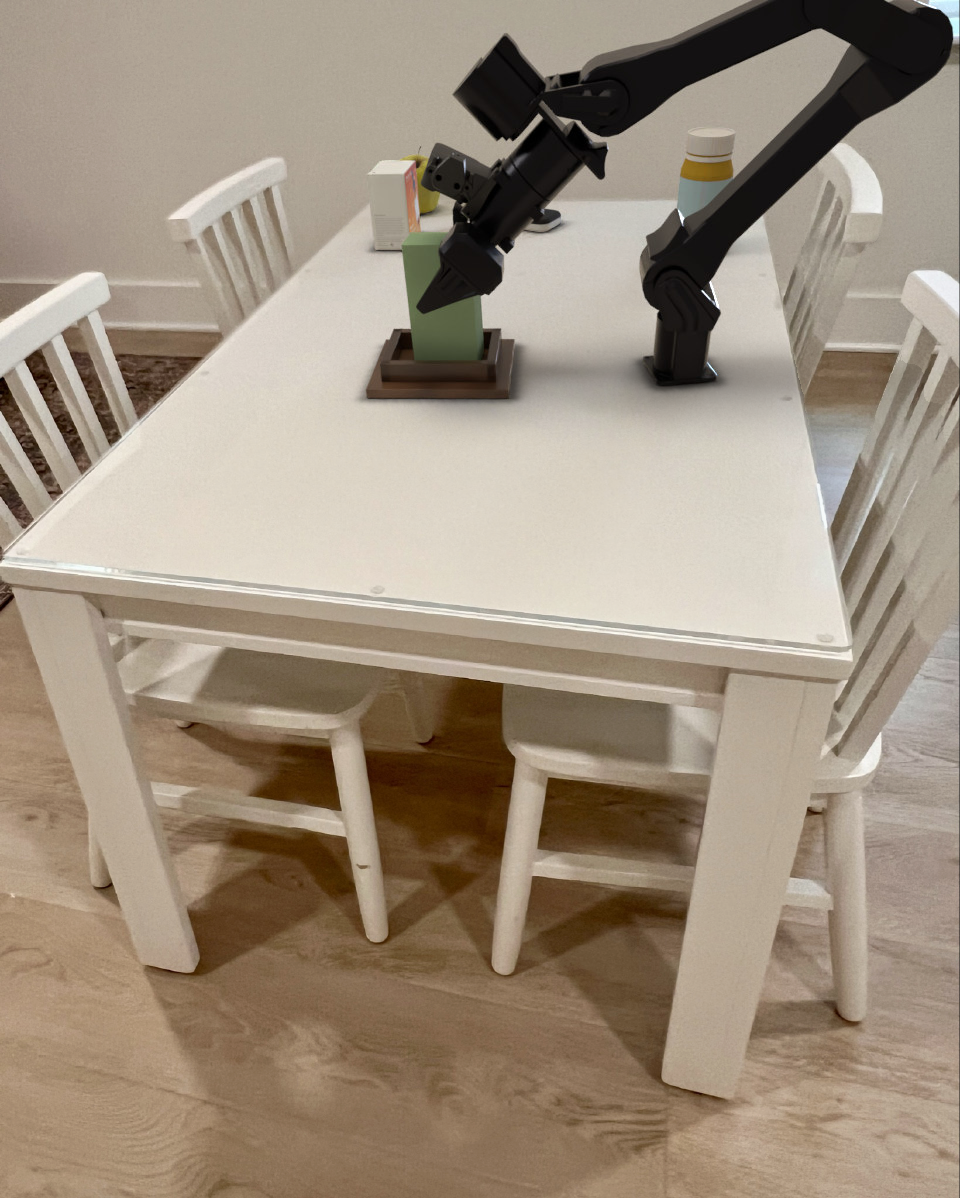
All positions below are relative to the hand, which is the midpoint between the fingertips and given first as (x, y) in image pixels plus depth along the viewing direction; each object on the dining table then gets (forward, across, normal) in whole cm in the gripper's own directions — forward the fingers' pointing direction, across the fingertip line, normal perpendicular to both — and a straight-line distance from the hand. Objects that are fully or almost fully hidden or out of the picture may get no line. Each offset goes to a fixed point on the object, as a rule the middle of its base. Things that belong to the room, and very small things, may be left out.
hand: (425, 293), depth 93 cm
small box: (+14, -44, -1) cm, 47 cm away
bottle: (-17, -40, +30) cm, 53 cm away
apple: (+13, -60, 0) cm, 61 cm away
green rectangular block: (+4, -1, +7) cm, 8 cm away
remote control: (+1, -53, +11) cm, 54 cm away
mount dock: (+5, 0, +7) cm, 9 cm away
